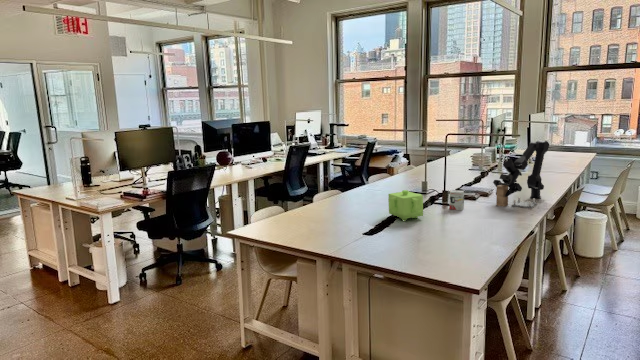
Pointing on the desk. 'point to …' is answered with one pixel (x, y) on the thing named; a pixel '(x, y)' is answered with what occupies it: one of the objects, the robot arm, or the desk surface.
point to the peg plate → (524, 203)
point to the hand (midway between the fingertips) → (500, 195)
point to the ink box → (456, 200)
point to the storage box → (405, 204)
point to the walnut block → (502, 195)
